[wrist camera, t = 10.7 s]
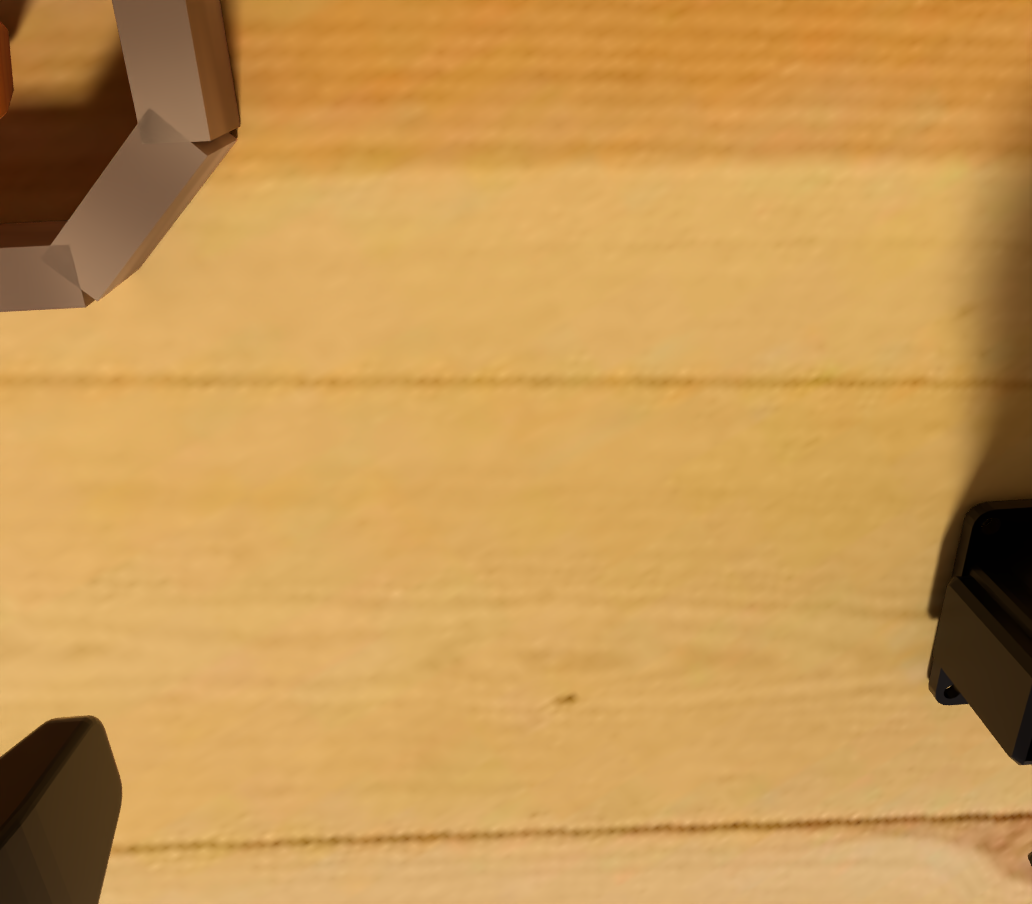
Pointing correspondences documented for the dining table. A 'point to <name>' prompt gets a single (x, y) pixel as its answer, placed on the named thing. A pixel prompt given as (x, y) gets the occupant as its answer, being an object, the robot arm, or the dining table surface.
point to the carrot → (5, 71)
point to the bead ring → (135, 161)
